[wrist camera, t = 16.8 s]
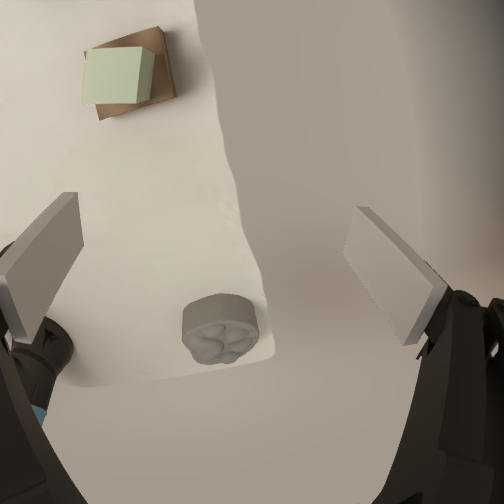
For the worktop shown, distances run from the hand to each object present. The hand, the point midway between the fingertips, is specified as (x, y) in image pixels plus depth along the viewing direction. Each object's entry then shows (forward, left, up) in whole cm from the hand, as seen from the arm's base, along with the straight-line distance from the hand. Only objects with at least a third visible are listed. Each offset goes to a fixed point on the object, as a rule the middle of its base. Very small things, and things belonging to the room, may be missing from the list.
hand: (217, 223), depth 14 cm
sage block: (-11, +7, -27) cm, 30 cm away
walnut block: (-11, +8, -32) cm, 35 cm away
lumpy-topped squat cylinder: (+4, -34, -32) cm, 47 cm away
